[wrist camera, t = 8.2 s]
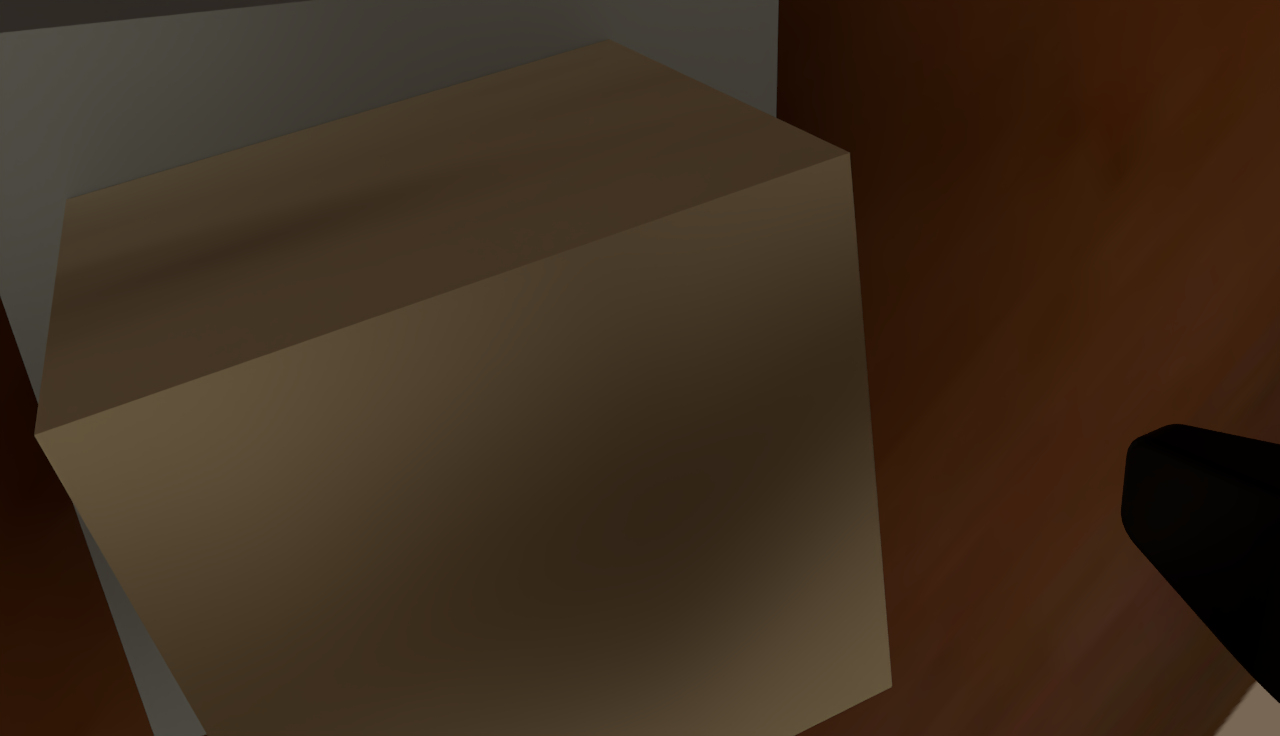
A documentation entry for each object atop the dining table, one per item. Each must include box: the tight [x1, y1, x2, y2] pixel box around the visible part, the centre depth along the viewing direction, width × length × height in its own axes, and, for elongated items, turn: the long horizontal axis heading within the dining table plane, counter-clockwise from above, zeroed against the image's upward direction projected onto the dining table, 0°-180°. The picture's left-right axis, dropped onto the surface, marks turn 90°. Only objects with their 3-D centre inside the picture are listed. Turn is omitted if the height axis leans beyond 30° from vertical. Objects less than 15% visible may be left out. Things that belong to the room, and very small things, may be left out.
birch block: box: [34, 39, 892, 736], centre depth 11 cm, size 6×6×5 cm
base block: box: [0, 0, 779, 736], centre depth 15 cm, size 9×9×4 cm
